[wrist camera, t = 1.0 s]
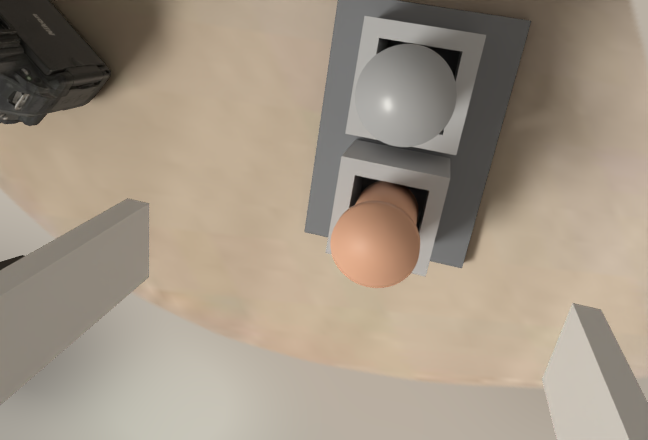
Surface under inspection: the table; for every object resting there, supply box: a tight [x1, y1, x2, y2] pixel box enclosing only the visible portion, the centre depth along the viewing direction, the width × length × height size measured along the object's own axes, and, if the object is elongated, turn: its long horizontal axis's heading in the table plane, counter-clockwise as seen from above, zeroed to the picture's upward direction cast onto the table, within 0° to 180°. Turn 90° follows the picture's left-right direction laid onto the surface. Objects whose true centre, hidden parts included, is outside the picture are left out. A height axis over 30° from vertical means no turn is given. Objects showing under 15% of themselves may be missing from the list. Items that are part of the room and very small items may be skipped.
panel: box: [305, 0, 531, 277], centre depth 33 cm, size 17×12×6 cm
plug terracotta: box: [330, 181, 420, 288], centre depth 30 cm, size 5×5×6 cm
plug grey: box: [355, 44, 457, 147], centre depth 27 cm, size 5×5×6 cm
